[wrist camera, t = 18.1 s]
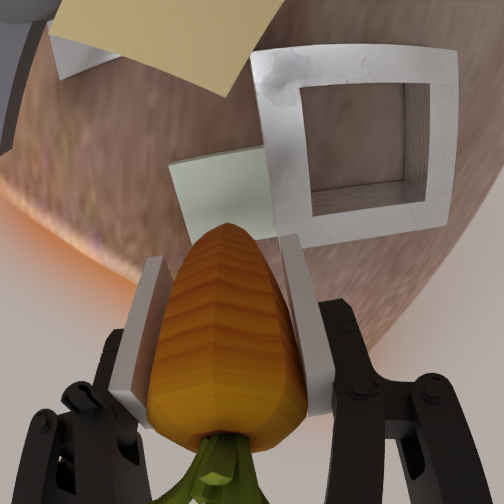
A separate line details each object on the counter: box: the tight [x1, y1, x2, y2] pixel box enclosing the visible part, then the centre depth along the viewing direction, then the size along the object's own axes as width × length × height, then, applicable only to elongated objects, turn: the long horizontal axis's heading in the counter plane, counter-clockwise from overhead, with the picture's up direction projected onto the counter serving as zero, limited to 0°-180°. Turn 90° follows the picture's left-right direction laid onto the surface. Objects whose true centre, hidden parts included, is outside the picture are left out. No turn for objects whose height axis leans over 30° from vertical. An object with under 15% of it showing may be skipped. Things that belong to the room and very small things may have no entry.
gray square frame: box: [248, 44, 459, 252], centre depth 16 cm, size 11×11×3 cm
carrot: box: [145, 222, 308, 504], centre depth 11 cm, size 5×5×15 cm
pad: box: [169, 145, 277, 246], centre depth 20 cm, size 6×6×1 cm
